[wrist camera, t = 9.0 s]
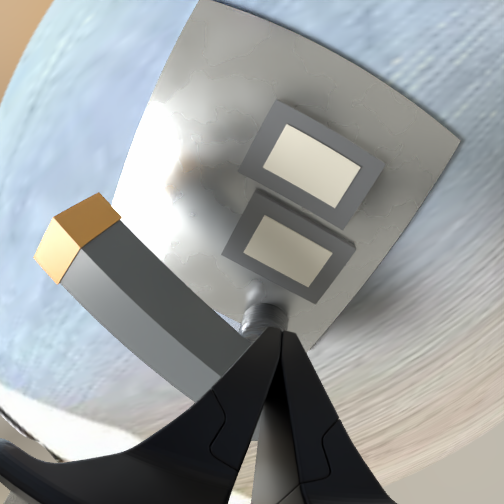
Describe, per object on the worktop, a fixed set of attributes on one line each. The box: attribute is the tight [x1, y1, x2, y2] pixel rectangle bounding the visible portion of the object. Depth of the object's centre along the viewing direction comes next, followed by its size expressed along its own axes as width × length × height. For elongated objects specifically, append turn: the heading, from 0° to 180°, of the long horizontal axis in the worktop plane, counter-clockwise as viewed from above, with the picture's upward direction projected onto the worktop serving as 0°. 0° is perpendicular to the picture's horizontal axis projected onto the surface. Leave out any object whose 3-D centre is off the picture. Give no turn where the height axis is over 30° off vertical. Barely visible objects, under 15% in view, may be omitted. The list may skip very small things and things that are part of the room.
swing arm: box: [33, 193, 261, 441], centre depth 13 cm, size 13×4×3 cm, turn 44°
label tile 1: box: [237, 99, 386, 230], centre depth 15 cm, size 6×4×1 cm, turn 63°
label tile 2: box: [221, 190, 356, 305], centre depth 17 cm, size 6×4×1 cm, turn 63°
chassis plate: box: [112, 0, 460, 353], centre depth 15 cm, size 15×16×4 cm
